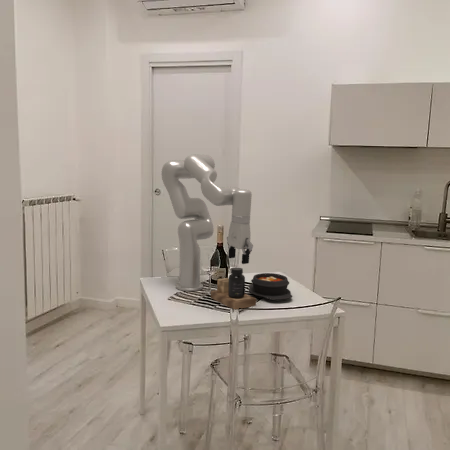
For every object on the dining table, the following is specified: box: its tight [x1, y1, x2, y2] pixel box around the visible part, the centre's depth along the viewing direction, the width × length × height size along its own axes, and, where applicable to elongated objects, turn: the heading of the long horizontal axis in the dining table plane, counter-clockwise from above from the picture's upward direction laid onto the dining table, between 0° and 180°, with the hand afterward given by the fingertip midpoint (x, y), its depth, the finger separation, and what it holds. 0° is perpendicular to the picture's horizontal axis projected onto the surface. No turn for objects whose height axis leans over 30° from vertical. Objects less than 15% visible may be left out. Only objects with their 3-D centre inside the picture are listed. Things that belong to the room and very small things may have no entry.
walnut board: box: [210, 289, 257, 310], centre depth 198 cm, size 18×11×3 cm, turn 33°
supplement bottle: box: [228, 267, 246, 299], centre depth 194 cm, size 7×7×12 cm
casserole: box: [248, 272, 293, 301], centre depth 209 cm, size 25×19×8 cm
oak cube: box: [216, 277, 229, 293], centre depth 203 cm, size 5×5×5 cm
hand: (238, 260), depth 193 cm, fingers open, 9 cm apart
